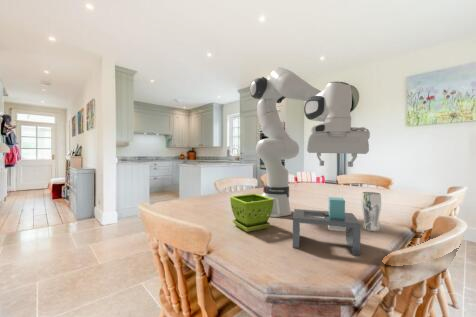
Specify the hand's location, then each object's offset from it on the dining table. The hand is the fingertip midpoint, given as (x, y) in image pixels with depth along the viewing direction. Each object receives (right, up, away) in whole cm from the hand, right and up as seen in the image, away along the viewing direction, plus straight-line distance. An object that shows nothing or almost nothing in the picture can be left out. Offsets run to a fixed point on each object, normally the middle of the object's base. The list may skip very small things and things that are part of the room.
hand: (335, 166), depth 79 cm
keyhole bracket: (-6, -27, -4) cm, 28 cm away
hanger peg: (-2, -21, -5) cm, 22 cm away
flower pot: (-30, -27, +14) cm, 42 cm away
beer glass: (+20, -27, +12) cm, 35 cm away
